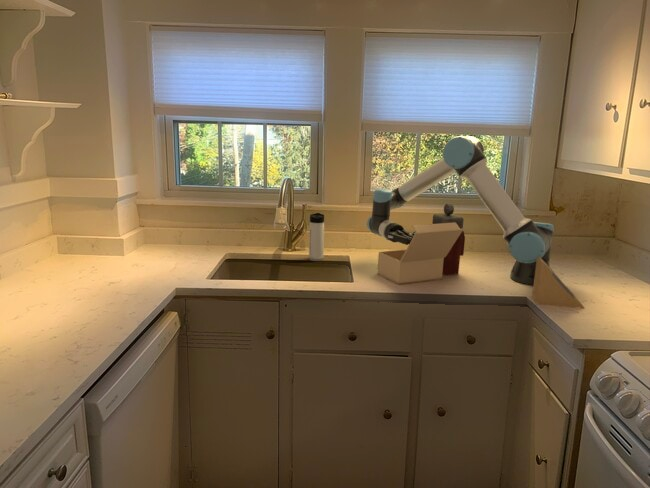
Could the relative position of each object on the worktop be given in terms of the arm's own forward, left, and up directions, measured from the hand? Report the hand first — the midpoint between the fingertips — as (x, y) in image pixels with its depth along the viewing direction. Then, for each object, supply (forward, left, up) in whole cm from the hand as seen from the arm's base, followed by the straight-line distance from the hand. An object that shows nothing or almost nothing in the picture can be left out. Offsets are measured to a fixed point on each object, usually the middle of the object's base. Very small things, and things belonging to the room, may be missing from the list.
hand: (426, 246), depth 182 cm
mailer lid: (+1, -1, +3) cm, 3 cm away
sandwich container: (-36, -29, -15) cm, 49 cm away
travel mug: (+48, +19, -15) cm, 54 cm away
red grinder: (+9, -20, -15) cm, 27 cm away
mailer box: (+10, -2, -15) cm, 18 cm away
